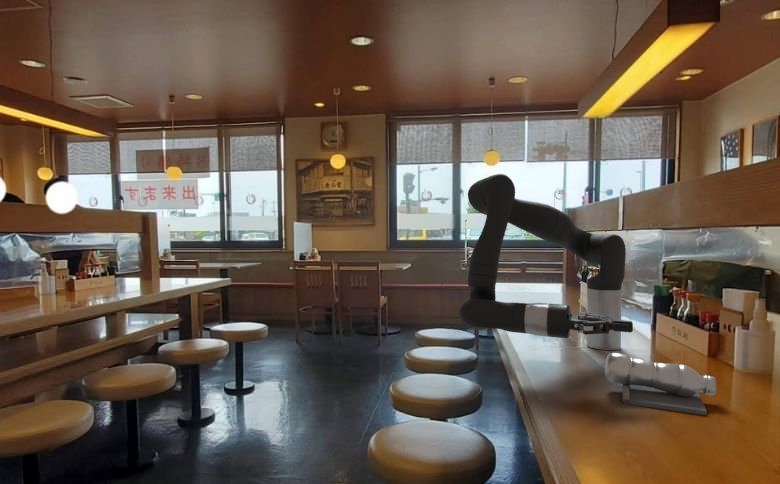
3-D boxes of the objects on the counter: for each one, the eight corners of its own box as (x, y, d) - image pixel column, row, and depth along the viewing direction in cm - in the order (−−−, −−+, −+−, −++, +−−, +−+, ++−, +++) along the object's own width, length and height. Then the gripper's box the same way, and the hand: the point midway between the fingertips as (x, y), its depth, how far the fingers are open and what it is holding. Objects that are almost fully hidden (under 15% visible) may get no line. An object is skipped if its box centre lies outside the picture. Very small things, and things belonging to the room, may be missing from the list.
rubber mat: (622, 381, 106) (622, 373, 106) (695, 390, 100) (695, 382, 100) (622, 403, 93) (622, 394, 93) (706, 415, 87) (706, 405, 87)
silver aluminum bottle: (603, 369, 105) (708, 388, 97) (602, 387, 99) (714, 410, 91) (606, 344, 102) (714, 362, 94) (605, 362, 97) (720, 382, 89)
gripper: (543, 308, 101) (633, 314, 93) (551, 299, 112) (632, 304, 105) (543, 342, 101) (633, 351, 93) (551, 330, 113) (631, 337, 105)
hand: (632, 326), depth 99 cm, fingers closed
